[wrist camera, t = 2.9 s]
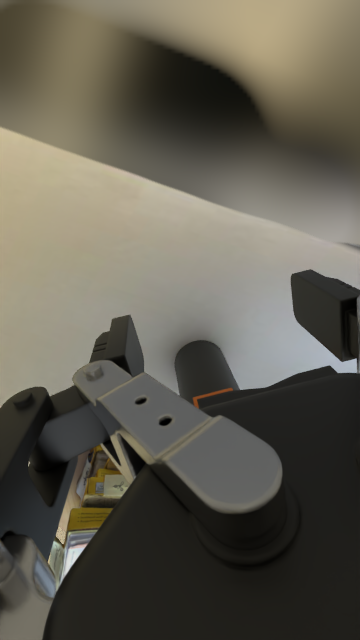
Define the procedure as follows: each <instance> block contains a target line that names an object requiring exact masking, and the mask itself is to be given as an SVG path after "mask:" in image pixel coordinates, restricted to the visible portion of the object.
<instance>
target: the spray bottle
mask: <svg viewBox="0 0 360 640" xmlns="http://www.w3.org/2000/svg"><path fill="white" fill-rule="evenodd" d="M175 370H176V376H177V381H178V387H179V393H180V396H181V397H182V398H184V399H185V400H187V401H188V402H190V403H191V404H193V405H194V401H193V397H197V396H201V395H205V394H209V393H213V392H216V391H220V390H224V389H228V388H232V389H233V391H235V390H240V389H239V387H238V385H237V383H236V381H235V379H234V376H233V374H232V372H231V370H230V368H229V366H228V364H227V362H226V360H225V357H224V355H223V353H222V351H221V350H220V348H219V347H218V346H216V345H215V344H213V343H211V342H208V341H194V342H191V343H189V344H187V345H185V346H184V347H183V348H182V349H181V350H180V351H179V352H178V354H177V356H176V359H175Z"/></svg>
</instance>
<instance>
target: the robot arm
mask: <svg viewBox="0 0 360 640" xmlns="http://www.w3.org/2000/svg"><path fill="white" fill-rule="evenodd" d="M291 289H292V300H293V311H294V315H295V318H296V320H297V321H298V323H299V324H300V325H301V326H302V327H304V328H305V329H306V330H307V331H308V332H309V333H310V334H311V335H313V336H314V337H315V338H316V339H317V340H318V341H319V342H320V343H321V344H323V345H324V346H325V347H326V348H327V349H328V350H329V351H330V352H331V353H333V354H334V355H335V356H336V357H337V358H338V359H339V360H340V361H342V362H344V361H348V360H352V359H355V358H357V373H337V372H336V371H335V370H334V369H333V368H332V367H331V366H326V367H322V368H318V369H314V370H310V371H306V372H302V373H298V374H296V375H293V376H291V377H289V378H287V379H285V380H282V381H280V382H278V383H276V384H274V385H272V386H269V387H266V388H258V389H246V390H235V391H227V392H223V393H219V394H215V395H212V396H208V397H204V398H200V399H197V403H198V407H199V408H197V407H196V406H194V405H193V404H191V403H190V402H188V401H187V400H185V399H184V398H182V397H181V396H179V395H178V394H176V393H175V392H173V391H172V390H170V389H169V388H167V387H166V386H164V385H163V384H161V383H160V382H158V381H157V380H155V379H154V378H152V377H151V376H150V375H148V374H147V373H145V372H144V358H143V353H142V349H141V346H140V343H139V339H138V336H137V333H136V330H135V327H134V324H133V320H132V318H131V316H130V315H126V316H122V317H118V318H114V319H112V323H111V327H110V331H108V332H104V333H102V334H101V335H100V336H99V337H98V338H97V339H96V342H95V345H94V348H93V353H92V355H91V358H90V362H89V364H87V365H85V366H83V367H82V368H80V369H79V370H78V371H77V372H76V373H75V374H74V376H73V378H72V380H73V383H74V386H72V387H70V388H68V389H66V390H64V391H62V392H59V393H57V394H55V395H52V396H49V394H48V392H47V390H46V388H44V387H33V388H29V389H26V390H23V391H21V392H19V393H17V394H16V395H14V396H12V397H11V398H10V399H8V400H7V401H6V402H5V403H4V404H3V406H2V407H1V408H0V640H360V290H359V289H357V288H355V287H352V286H351V285H349V284H346V283H344V282H342V281H340V280H338V279H334V278H329V277H325V276H323V275H321V274H319V273H317V272H315V271H313V270H311V269H310V270H306V271H302V272H298V273H294V274H292V276H291ZM98 445H101V447H102V449H103V450H104V451H105V453H106V454H107V455H108V456H109V458H110V459H111V460H112V462H113V463H114V464H115V466H116V467H117V468H118V470H119V471H120V472H121V474H122V475H123V476H124V478H125V479H126V481H127V482H128V484H129V487H128V489H127V490H126V491H125V493H124V494H123V495H122V497H121V498H120V500H119V501H118V502H117V504H116V505H115V507H114V508H113V509H112V511H111V512H110V514H109V515H108V516H107V518H106V519H105V520H104V522H103V523H102V525H101V526H100V527H99V529H98V530H97V532H96V533H95V534H94V536H93V537H92V538H91V540H90V541H89V543H88V544H87V545H86V547H85V548H84V550H83V551H82V552H81V554H80V555H79V557H78V558H77V559H76V561H75V562H74V563H73V565H72V566H71V568H70V569H69V571H68V572H67V574H66V575H65V577H64V579H63V580H62V582H61V584H60V586H59V588H58V590H57V592H56V594H55V590H56V578H55V574H54V572H53V570H52V569H51V567H50V566H49V564H48V559H49V555H50V552H51V549H52V546H53V542H54V539H55V536H56V532H57V529H58V526H59V522H60V519H61V516H62V512H63V509H64V506H65V502H66V499H67V496H68V492H69V489H70V486H71V483H72V479H73V476H74V473H75V469H76V466H77V463H78V455H80V454H82V453H84V452H86V451H88V450H90V449H92V448H94V447H96V446H98ZM29 461H30V465H29V467H28V462H29Z"/></svg>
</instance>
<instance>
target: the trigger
mask: <svg viewBox="0 0 360 640" xmlns="http://www.w3.org/2000/svg"><path fill="white" fill-rule="evenodd" d="M227 391H233V389H232V388H228V389H224V390H220V391H216V392H213V393H209V394H205V395H201V396H197V397H193V401H194V406H196V407H197V408H199V407H198V403H197V399H200V398H204V397H208V396H212V395H215V394H219V393H223V392H227Z"/></svg>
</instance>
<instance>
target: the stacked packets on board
mask: <svg viewBox="0 0 360 640" xmlns="http://www.w3.org/2000/svg"><path fill="white" fill-rule="evenodd" d="M128 487H129V484H128V482H127V481H126V479H125V478H124V476H123V475H122V474H121V472H120V471H119V470H118V468H117V467H116V466H115V464H114V463H113V462H112V460H111V459H110V458H109V456H108V455H107V454H106V453H105V451H104V450H103V449H102V447H101V445H98V446H96V447H94V448H92V449H90V450H88V451H86V452H84V453H82V454H80V455H78V463H77V466H76V469H75V473H74V476H73V479H72V483H71V486H70V489H69V492H68V496H67V499H66V502H65V506H64V509H63V512H62V516H61V519H60V522H59V527H60V528H61V529H62V530H64V531H65V532H66V537H65V542H64V544H62V543H61V542H60V541H59V539H58V538H57V537H56V536H55V539H54V542H53V546H52V549H51V556H50V565H49V566H50V567H51V569H52V570H53V572H54V574H55V578H56V592H57V590H58V588H59V586H60V584H61V582H62V580H63V579H64V577H65V575H66V574H67V572H68V571H69V569H70V568H71V566H72V565H73V563H74V562H75V561H76V559H77V558H78V557H79V555H80V554H81V552H82V551H83V550H84V548H85V547H86V545H87V544H88V543H89V541H90V540H91V538H92V537H93V536H94V534H95V533H96V532H97V530H98V529H99V527H100V526H101V525H102V523H103V522H104V520H105V519H106V518H107V516H108V515H109V514H110V512H111V511H112V509H113V508H114V507H115V505H116V504H117V502H118V501H119V500H120V498H121V497H122V495H123V494H124V493H125V491H126V490H127V489H128Z"/></svg>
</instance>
